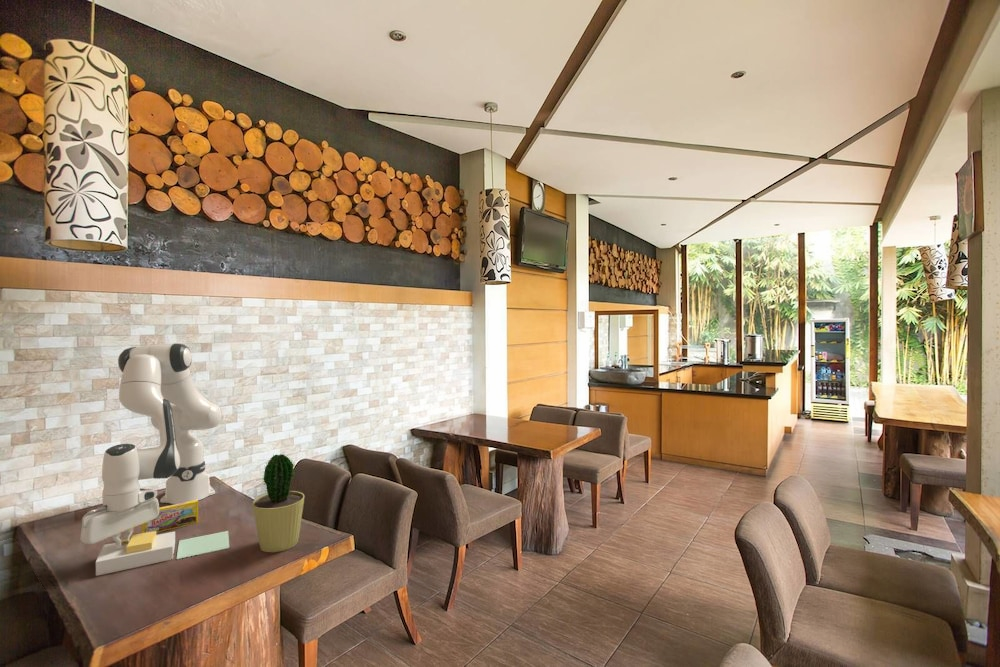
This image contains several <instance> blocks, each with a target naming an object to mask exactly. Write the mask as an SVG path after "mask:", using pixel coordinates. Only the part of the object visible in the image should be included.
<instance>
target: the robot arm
mask: <svg viewBox="0 0 1000 667" xmlns="http://www.w3.org/2000/svg"><path fill="white" fill-rule="evenodd" d="M192 356H193V355H192V352H191V350H190V348H189V347H188V346H187V345H185V344H183V343H172V344H171V343H155V344H152V345H151V344H150V345H142V346H133V347H128V348H126V349H123V351H122V352H121V353H120V354H119V356H118V361H117V363H118V368H119V371H121V372H122V374H121V378H120V384H119V391H118V398H119V402H120V404H121V406H123V408H125V409H127V410H128V411H130V412H132V413H134V414H139V415H142V416H146V417H149V418H150V421H151V425H152V426H153V427H154V428H155V429H156V430H158V432H159V440H160V444H159V446H158V447H150V448H149V447H147V448H137V446H136V445H135V444H133V443H132V444H131V443H121V444H116V445H113V446H111V447H109V448H107V449H105V451H104V455H103V458H102V459H103V460H102V466H101V467H102V468H101V480H102V482H103V489H102V494H101V495H102V496H101V497H102V506H100V507H97V508H95V509H90V510H88V511H87V513H85V514H84V515H83V517H82V518H81V530H80V531H81V532H80V542H81V543H83V544H86V545H93V544H96V543H99V542H102V541H103V540H105V539H108V538H111V539H112V540H113V541H114V543H115V546H116V547H121V546H124V545H126V544H128V543H129V541H130V539H131V537H132V535H133V533H134V529H135V527H138V526H140V525H141V526H142V524H143V523H146V522H148V521H151V520H153V519H156V518H157V517H158V515H159V508H160V504H159V503H161V504H164V503H166V504H171V505H174V504H179V503H184V502H189V501H193V500H198V501H201V500H203V499H205V498H207V497H209V496H212V495H215V494H216V491H215V489H214V488H213V487H212V485H211V482H210V475H209V473H207V472H206V462H205V458H204V450H205V449H204V443H203V441H202V440H201V439H199V438H198V437H195V436H194V435H193V434H192V433H191V432H192V431H204V430H210V429H214V428H216V427H217V426H218V425H219V424H220V422H221V420H222V417H223V414H222V410H221V408H220V407H219V405H217V404H215V403H213V402H211V401H209V400H208V399H206V398H205V397H204V396H203V395H202V394H201V393H200V391H199V390H198V389H197V387H196V385H195V382H194V379H193V376H192V374H191V371H190V370H191V369H190V366H191V365H192V361H193V360H192V358H193V357H192ZM149 479H151V480H152V479H157V480H160V479H167V480H166V481H165V494H164V495H163V496H162V497H161V498H160V501H159V500H158V498H157V496H158V491H157V490H154V489H151V488H141V484H140V482H139V481H140V480H141V481H142V480H149ZM123 532H124V534H123V537H121V536H122V533H123ZM120 537H121V538H120Z"/></svg>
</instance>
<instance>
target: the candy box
mask: <svg viewBox="0 0 1000 667" xmlns="http://www.w3.org/2000/svg"><path fill="white" fill-rule="evenodd" d="M198 523H199V500H193V501H189V502H184V503H179V504H171V505H165V506H162V507H160V506H159V515H158V517H157V518H156V519H153V520H151V521H148V522H146V523H143V524H141V533H146V532H152V531H156V534H158V533H161V532H166V530H167V531H171V530H174V529H178V528H183V527H188V526H191V525H195V524H198Z"/></svg>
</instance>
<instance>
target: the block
mask: <svg viewBox="0 0 1000 667" xmlns="http://www.w3.org/2000/svg"><path fill="white" fill-rule="evenodd" d="M156 535H157V533H156V531H152V532H146V533H142V532H141V533H136V534H132V535H131V537H130V541H129V543H128V545H127V554H128V553H133V552H139V551H144V550H149V549H152V547H153V544H154V542H155V539H156Z"/></svg>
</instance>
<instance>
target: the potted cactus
mask: <svg viewBox="0 0 1000 667" xmlns="http://www.w3.org/2000/svg"><path fill="white" fill-rule="evenodd" d="M294 468H295V465H294V462H293V459H290V457H289V455H288V454H287V455H286V454H283V453H280V454H273V455H272V456H271V458H269V459H268V462H266V465H265V466H264V470H263V471H262V473H263V475H262V476H263V480H262V481H261V483H262V482H263V483H262V485H263V486H264V485H265V489H266V491H265V492H266V493H265V494H263V495H261V496H259V497H257V498H255V499H254V500H253V501H252V504H251V505H252V508H253V509H252V510H253V515H254V520H255V526H256V532H257V537H258V538H257V539H258V543H259V548H260V550H261V551H263V552H265V553H266V552H267V553H279V552H284V551H287V550H291V549H292V548H293V547H295V546H296V545H297V544H298V542H299V539H300V530H301V524H302V519H303V518H302V517H303V510H304V504H305V494H304V493H303V492H301V491H296V490H290V489H291V484H293V483H292V480H293V479H294V478H297V476H296V474H295V472H296V471H297V470H295V469H294Z"/></svg>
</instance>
